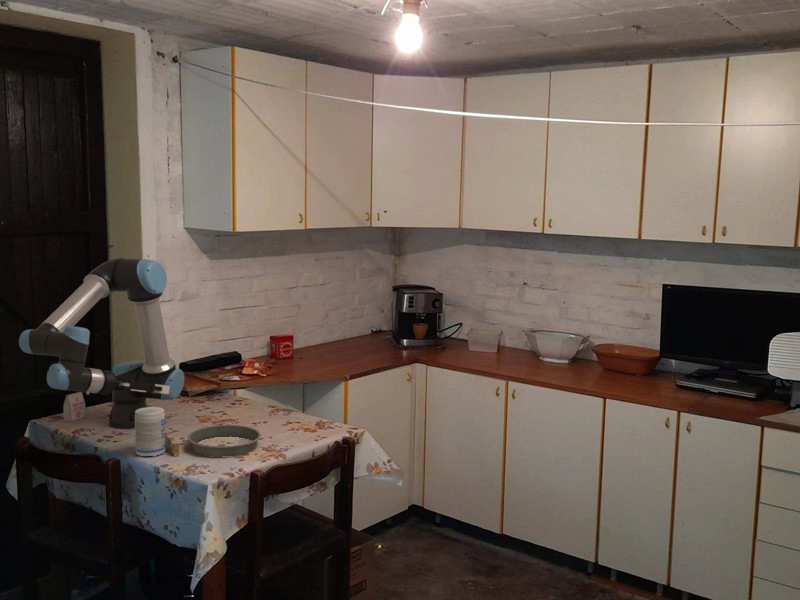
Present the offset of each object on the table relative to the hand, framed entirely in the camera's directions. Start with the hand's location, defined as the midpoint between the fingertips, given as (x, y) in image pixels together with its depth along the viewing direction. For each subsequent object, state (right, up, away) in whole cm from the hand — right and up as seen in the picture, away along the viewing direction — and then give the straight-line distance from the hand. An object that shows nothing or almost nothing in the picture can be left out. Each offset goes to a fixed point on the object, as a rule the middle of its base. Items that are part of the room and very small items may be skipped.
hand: (157, 389), depth 259 cm
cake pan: (+21, -21, +7) cm, 31 cm away
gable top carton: (-42, -16, +34) cm, 56 cm away
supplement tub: (-2, -21, -1) cm, 22 cm away
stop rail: (+4, -21, +2) cm, 21 cm away
